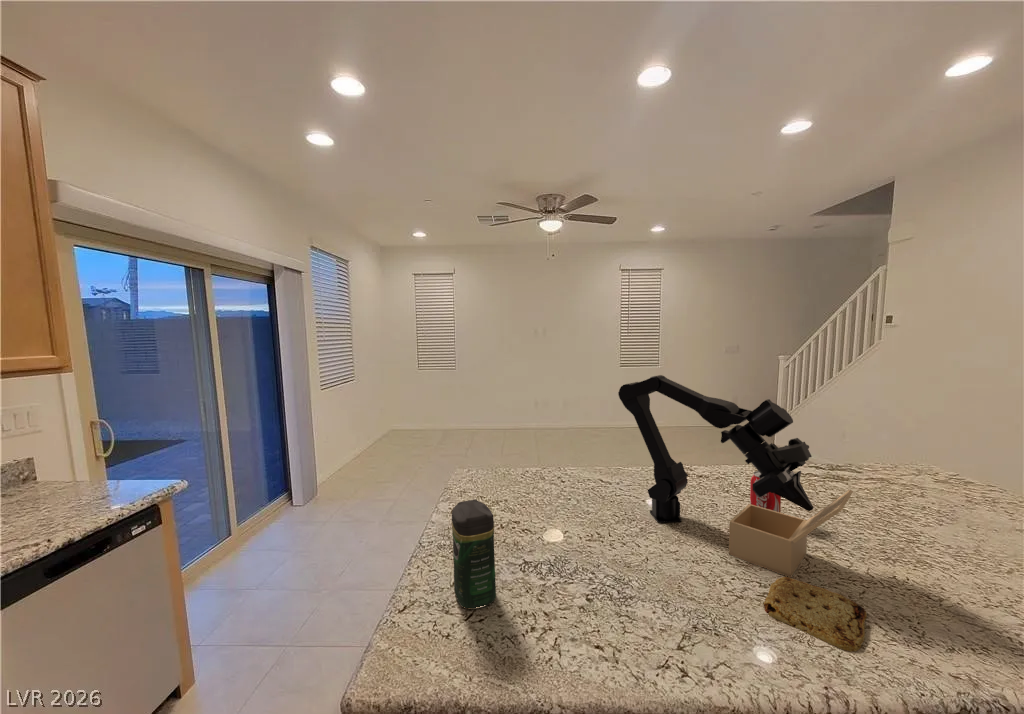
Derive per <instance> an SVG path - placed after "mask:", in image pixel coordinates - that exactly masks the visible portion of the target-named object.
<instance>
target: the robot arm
mask: <svg viewBox="0 0 1024 714" xmlns="http://www.w3.org/2000/svg"><path fill="white" fill-rule="evenodd" d="M656 392H657V393H660V395H663V396H665V397H667V398H670V399H672V400H673V401H675V402H677V403H679V404H682V405H684V406H685V407H687V408H688V409H689V408H690V409H691V410H693V411H694V412H696V413H698V414H699V416H701V418H702V419H703V420H704V421H706V422H707V423H709V425H711V426H713V427H714V428H717V429H725V428H729V427H730V426H733V425H735V426H733V427H732V428H731V429H729V430H726V429H725V430H722V431H721V432H720V434H721V438H720V443H721V444H724V443H726V442H728V441H731V442H732V443H733V445H734V446H735V447H736V448H737V449H738V450H739V451H740V452H741V453H742V454H743V455H744V456H745V458H746V459H745V460H744V462H745V463H746V464H747V465H749V464H752V466H753V467H754V468H755V470H756V471H759V472H760V473H761V475H759V477H760V479H759V480H757V481H756V482H755V483H754V484H753V489H752V490H753V491H754V492H755V493H756V495H757V496H758V497H759V498H760V497H762V496H763V495H765V494H767V493H769V492H771V493H774V494H776V495H779V496H781V498H783V499H785V500H787V501H789V502H791V503H793V504H794V505H796V506H798V507H800V508H802V509H804V510H806V511H807V512H810V511H813V510H814V506H813V504H812V502H811V500H810V498H809V497H808V494H807V493H806V491H805V489H804V487H803V485H802V484H801V474H802V470H799V471H797V472H794V470H797V469H799V467H803V466H804V465H805V464H806V463H807V462H808V461H809V459H810V458H812V457H813V456H812V454H811V452H810V450H809V449H810V445H808V444H807V443H806V441H802V440H801V439H800V438H798V437H795V438H791V439H789V440H788V445H784V446H780V447H778V446H777V444H776V443H772V442H770V443H768V441H767V440H766V439H765V438H764V437H765V436H766V437H768V438H772V437H774V436H776V435H777V434H778V433H780V432H781V431H782V430H785V429H786V428H787V427H789V426H790V425H792V424H793V423H794V419H793V418H792V416H791V414H790V412H788V411H787V410H786V409H785V408H784V407H781V406H780V405H779V404H777V403H774V402H773V401H772V400H771V399H765V400H764V401H762V402H761V403H760V404H759V405H758V406H757V407H756V408H754V409H753V410H751V409H747V408H743V407H739V406H738V404H736V403H734V402H732V401H728V400H726V399H721V398H717V397H710V396H707V395H704V394H702V393H699V392H698V391H695V390H693V389H691V388H689V387H687V386H685V385H682V384H680V383H678V382H676V381H674V380H671V379H669V378H667V377H666V376H664V375H663V374H659V375H654V376H650V378H647V379H644V380H642V381H635V382H630V383H626V384H623V385H621V386H620V387H619V390H618V393H617V395H618V398H619V400H620V402H621V403H622V405H623V407H624V408H625V409H626V410H627V411H628V412H629V413H630V414H632V416H633V417H634V420H635V421H636V422H635V423H636V425H637V427H638V429H639V431H640V434H641V436H642V438H643V441H644V443H645V446H646V448H647V450H648V454H649V456H650V457H651V459H652V462H653V477H654V482H655V484H654V485H652V486H651V487H649V488H648V489H647V493H648V496H649V498H650V499H651V510H649V513H650V514H651V516H652V517H653V518H654V520H655V521H656V522H657V523H660V524H661V523H682V519H681V518H680V517H681V502H680V501H679V496H678V495H679V494H681V492H682V491H683V490H684V489H686V488H687V485H688V483H689V482H688V476H689V474H688V473H687V472H686V471H685V469H684V468H685V467H684V464H683V462H681V461H679V462H676V461H675V460H674V459H673V458H672V457H671V455H670V453H669V450H668V448H667V446H666V443H665V440H664V439H663V437H662V435H661V431H660V429H659V427H658V425H657V422H656V421H655V418H654V416H653V414H652V412H651V407H650V406H651V405H650V404H651V398H650V394H652V393H656ZM746 421H748V422H746ZM744 422H746V423H745V424H744V425H740V424H742V423H744Z"/></svg>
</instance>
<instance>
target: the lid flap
mask: <svg viewBox="0 0 1024 714" xmlns="http://www.w3.org/2000/svg"><path fill="white" fill-rule="evenodd" d="M853 493H854V491H853V489H849V490H847V491H846V492H845V493H843V494H842V495H840V496H839V497H838V498H836V499H835V500H833V501H832V502H830V503H829V504H828V505H826V506H825V507H824V508H822V509H821V510H819V511H818V512H816V513H815V514H814V515H813V516H811V517H810V518H809V519H808V518H807V519H806V520H807V521H806V522H805V524H804V525H803V526H802V528H801V529H800V530H799V532H798V533H797V534H796V536H795V537H794V538H793V540H792V541H793V542H794V543H795V542H797V541H798V540H800V539H801V538H803V537H804V536H806V535H807V536H808V535H809V534H810V533H812V532H813V531H814V530H816V529H817V528H819V527H820V526H821V525H823V524H824V523H826V522H827V521H829V520H830V519H832V518H833V517H835V516H836V515H837V514H839V513H840V512H841V511H842V510H843V509H844V508H845V505H847V502H848V501H849V499H850V498H851V496H852V495H853Z"/></svg>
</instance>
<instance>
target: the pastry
mask: <svg viewBox="0 0 1024 714" xmlns="http://www.w3.org/2000/svg"><path fill="white" fill-rule="evenodd" d="M763 608H764V612H765V613H766V614H767V615H768V616H769V617H770V618H772V619H775V620H777V621H779V622H782V623H784V624H787V625H789V626H791V627H793V628H795V627H796V629H797V628H798V629H797V630H799V629H800V630H799V631H801V630H802V631H801V632H803V631H804V632H803V633H805V632H806V633H805V634H807V633H808V634H807V635H809V636H812V635H813V636H814V638H816V639H818V638H819V639H818V640H820V641H822V642H825V643H827V644H828V645H831V646H833V647H835V648H837V649H840V650H842V651H846V652H851V653H852V652H858V650H860V649H861V648H862V644H863V643H864V642H865V636H866V635H865V634H866V632H865V631H866V630H865V625H866V624H865V622H866V619H867V617H868V616H867V615H868V614H867V611H866V609H865V608H864V607H863V606H861V605H860V604H858V603H856V601H854V600H852V599H849V598H848V597H846V596H845V595H841V594H839V593H837V592H834V591H833V592H832V591H831V590H828V589H826V588H824V587H823V588H822V587H818V586H816V584H810V583H808V582H807V583H806V582H805V581H802V580H797V579H795V578H792V577H791V578H790V577H787V576H782V577H779V578H777V579H776V580H775V581H774V582H772V583H771V584H770V586H769V590H768V593H767V596H766V598H765V599H764V602H763ZM813 636H812V637H813Z"/></svg>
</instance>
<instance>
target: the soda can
mask: <svg viewBox="0 0 1024 714" xmlns="http://www.w3.org/2000/svg"><path fill="white" fill-rule="evenodd" d="M759 475H761V473H760V472H759V471H758V470H755V471H753V473H752V476H751V478H750V483H749V484H750V489H749V490H750V492H749V495H750V496H749V497H750V499H749V504H751V505H755V506H759V507H762V508H766V509H769V510H773V511H776V512H780V513H781V507H782V506H781V505H782V497H781V496H779V495H776V494H774V493H771V492H769V493H767V494H765V495H763V496H762V497H760V498H759V497H758V496H757V495H756V493H755V492H754V491H753V490H752V489H753V484H754V483H755V482H756V481H757V480H759V479H760V477H759Z"/></svg>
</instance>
